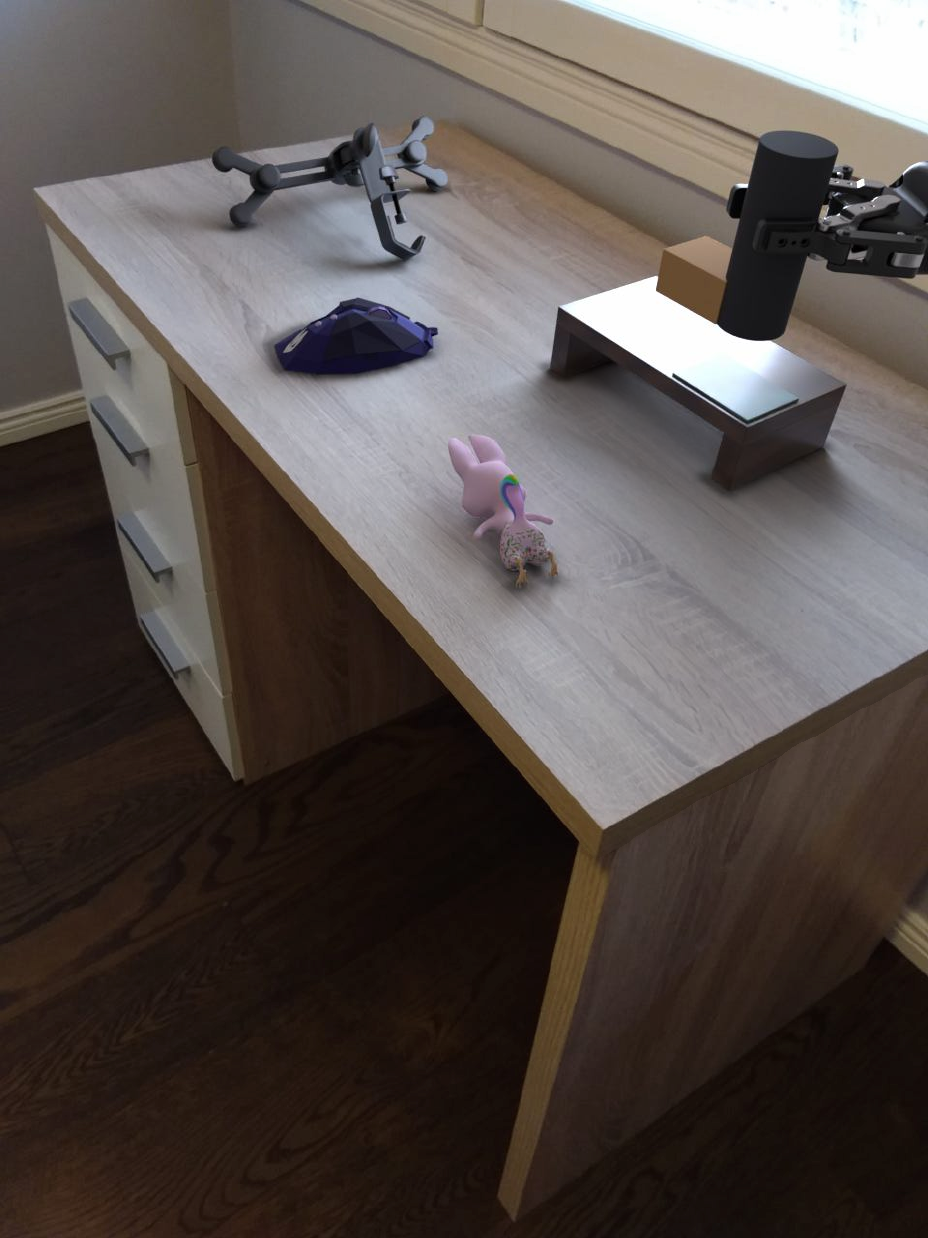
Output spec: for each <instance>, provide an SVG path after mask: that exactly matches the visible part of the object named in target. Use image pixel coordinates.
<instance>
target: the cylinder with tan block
mask: <svg viewBox="0 0 928 1238" xmlns="http://www.w3.org/2000/svg"><path fill="white" fill-rule="evenodd" d="M839 151H840V150H839V147H838V146H837V145H836V144H835V143H834V142H832V141H831V140H829V139H827V138H825V137H823V136H820V135H817V134H813V133H810V132H804V131H797V130H773V131H768V132H765V133H763V134H762V135H760V137H759V138H758V142H757V146H756V150H755V154H754V159H753V163H752V167H751V171H750V175H749V179H748V183H747V184H748V187H747V191H746V195H745V199H744V203H743V207H742V212H741V216H740V219H738V220H739V221H738V224H737V228H736V233H735V236H734V241H733V245H732V247H729V246H728V245H726V244H724V243H721V242H720V241H718V240H716V239H714V238H712V237H709V236H708V235H704V236H702V237H701V236H700V237H697V238H695V239H692V240H691V239H690V240H688V241H685V242H682V243H679V244H676V245H672V246H670V247H666V248H663V250H662V255H661V260H660V264H659V270H658V276H657V277H658V280H657V285H656V290H655V291H656V292H658V293H660V294H662V295H663V296H665V297H667V298H669V299H671V300H672V301H674V302H676V303H678V304H679V305H681V306H683V307H685V308H687V309H688V310H690V311H692V312H694V313H695V314H697V315H699V316H701V317H703V318H704V319H706V320H708V321H710V322H711V323H713V324H715V325H718V326H719V327H720V328H721V329H722V330H723V331H725V332H726V333H728V334H730V335H732V336H735V337H738V338H741V339H745V340H751V341H774V340H777V339H779V338H781V337H782V336H783V335H784V334H785V332H786V330H787V326H788V322H789V321H790V316H791V312H792V309H793V305H794V302H795V299H796V297H797V292H798V289H799V286H800V282H801V279H802V276H803V273H804V269H805V265H806V262H807V258H808V256H807V255H808V253H806V254H758V253H757V252H756V251H755V249H754V248H753V240H754V236H755V232H756V229H757V225H758V223H759V221H760V220H762V219H764V218H812V219H813V220H814V221H815V225H817V221H818V219H819V216H820V215H821V212H822V210H823V209H822V208H823V202H824V199H825V196H826V192H827V189H828V186H829V182H830V179H831V175H832V172H833V169H834V166H836V162H837V158H838V155H839ZM820 217H821V216H820Z"/></svg>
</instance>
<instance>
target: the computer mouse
mask: <svg viewBox="0 0 928 1238" xmlns="http://www.w3.org/2000/svg"><path fill="white" fill-rule="evenodd" d="M438 334H439V330H438V327H435V326H430V327H429V326H427V325H425V324H424V323H422V322H419V321H412V320H411V317H410V316H408V315H406V314H404V313H403V312H402V311H401V312H400V311H399V310H397V309H395V308H394V307H391V306H389V305H385V304H382V303H378V302H376V301H372V300H368V299H365V298H362V297H355V298H350V299H346V300H341V301H339V305H337V306H336V307H335V308H333V309H332V310H331V311H330V312H328V313H327V314H326V315H324V316H322V317H320V318H317V319H315V320H313V321H311V322H310V323H308V324H307V325H306V326H304V327H303V328H299V329H298V330H296V331H294V332H293V333H290V335H288V336H287V337H285V338H283V339H281V340H280V341H278V342H276V343H275V344H274V348H275V353H276V356H277V359H278V361H279V363H280V365H281V367H282V369H283V371H290V372H297V373H305V374H311V375H355V374H356V375H358V374H362V373H363V374H364V373H367V372H372V371H376V370H381V369H386V368H390V367H394V366H397V365H400V364H404V363H407V362H410V361H414V360H416V359H419V358H422V357H425V356H426V355H427V354H428V353H429V352H430V351H432V350H433V349H434V348H435V347H434V339H433V337H435V336H437V335H438Z"/></svg>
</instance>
